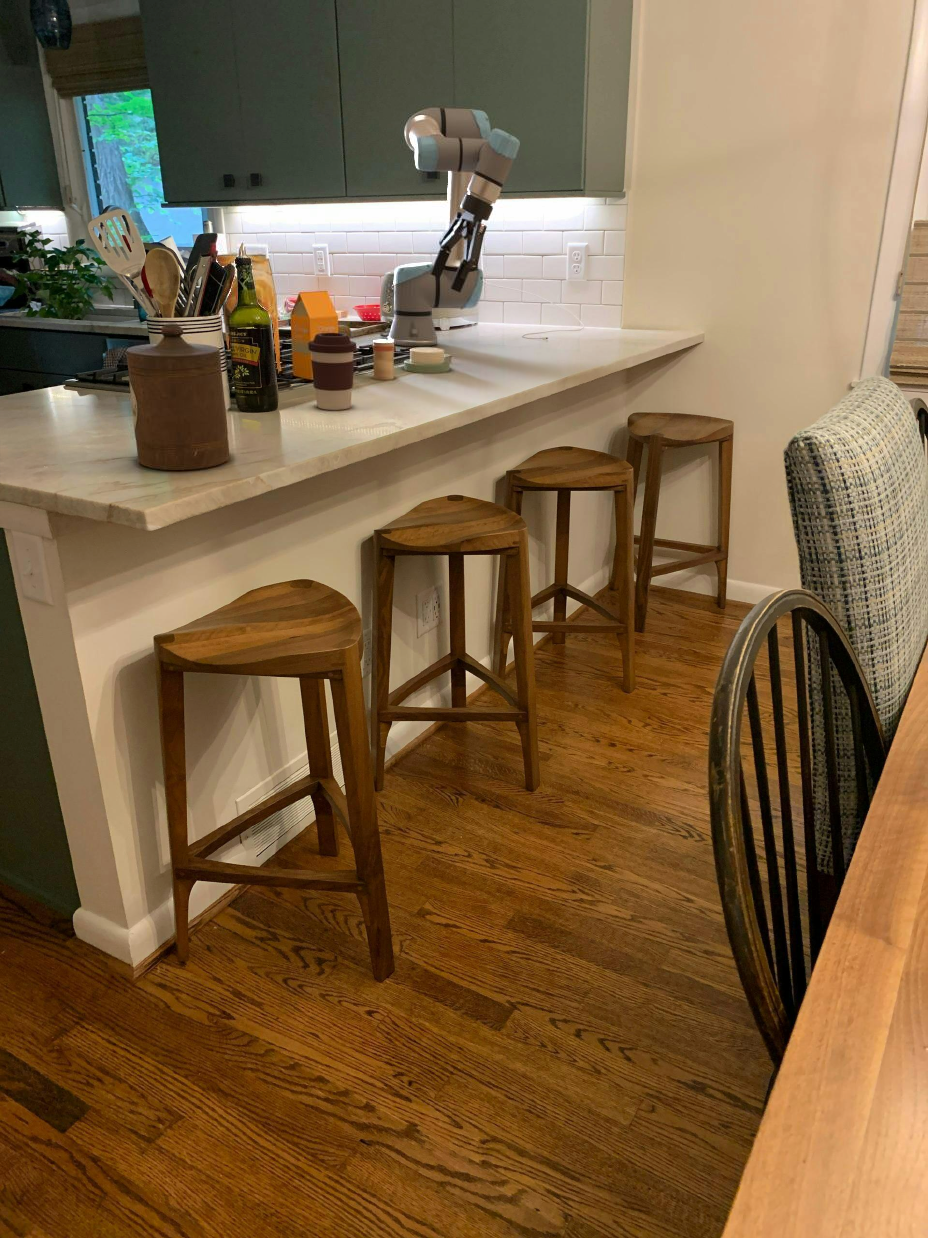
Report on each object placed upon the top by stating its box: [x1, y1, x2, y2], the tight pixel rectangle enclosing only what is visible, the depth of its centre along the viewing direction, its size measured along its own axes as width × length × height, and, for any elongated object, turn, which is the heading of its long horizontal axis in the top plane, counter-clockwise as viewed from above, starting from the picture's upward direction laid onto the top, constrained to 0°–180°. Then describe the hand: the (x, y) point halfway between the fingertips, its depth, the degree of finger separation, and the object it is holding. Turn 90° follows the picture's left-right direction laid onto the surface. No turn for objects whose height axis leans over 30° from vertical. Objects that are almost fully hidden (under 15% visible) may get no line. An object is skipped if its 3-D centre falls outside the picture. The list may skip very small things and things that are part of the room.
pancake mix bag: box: [217, 253, 282, 374], centre depth 226 cm, size 7×19×28 cm, turn 141°
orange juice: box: [290, 290, 339, 381], centre depth 229 cm, size 8×9×20 cm
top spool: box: [372, 339, 395, 381], centre depth 231 cm, size 5×5×9 cm
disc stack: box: [403, 346, 451, 374], centre depth 246 cm, size 12×12×5 cm
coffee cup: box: [308, 333, 357, 411], centre depth 197 cm, size 10×10×15 cm
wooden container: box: [126, 322, 230, 471], centre depth 153 cm, size 15×15×22 cm
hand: (444, 282), depth 234 cm, fingers open, 13 cm apart
